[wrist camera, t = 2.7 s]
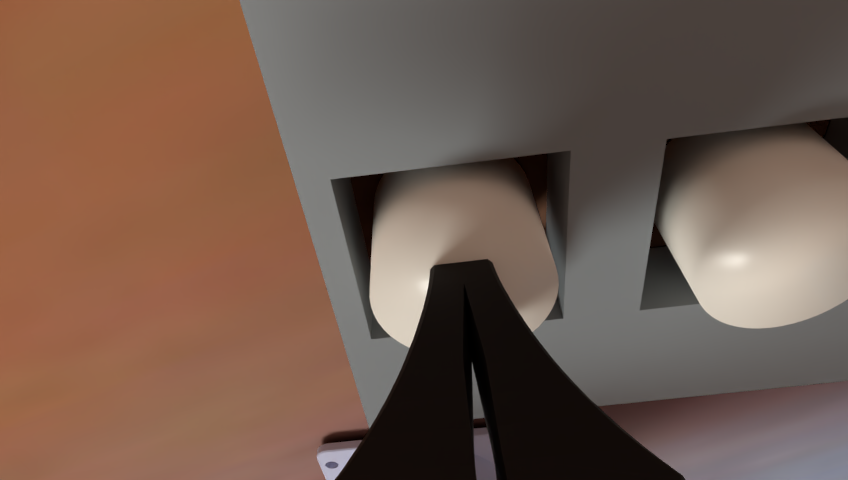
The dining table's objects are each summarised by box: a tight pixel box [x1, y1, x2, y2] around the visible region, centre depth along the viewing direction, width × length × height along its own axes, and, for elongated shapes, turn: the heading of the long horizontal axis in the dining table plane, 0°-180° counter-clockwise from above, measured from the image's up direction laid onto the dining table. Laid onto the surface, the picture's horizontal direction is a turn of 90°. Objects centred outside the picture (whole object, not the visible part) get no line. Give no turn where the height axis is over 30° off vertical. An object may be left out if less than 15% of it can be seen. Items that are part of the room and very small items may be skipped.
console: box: [240, 0, 848, 429], centre depth 16 cm, size 14×22×2 cm, turn 97°
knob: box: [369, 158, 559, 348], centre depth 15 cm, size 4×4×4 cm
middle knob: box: [654, 122, 848, 329], centre depth 15 cm, size 4×4×4 cm
